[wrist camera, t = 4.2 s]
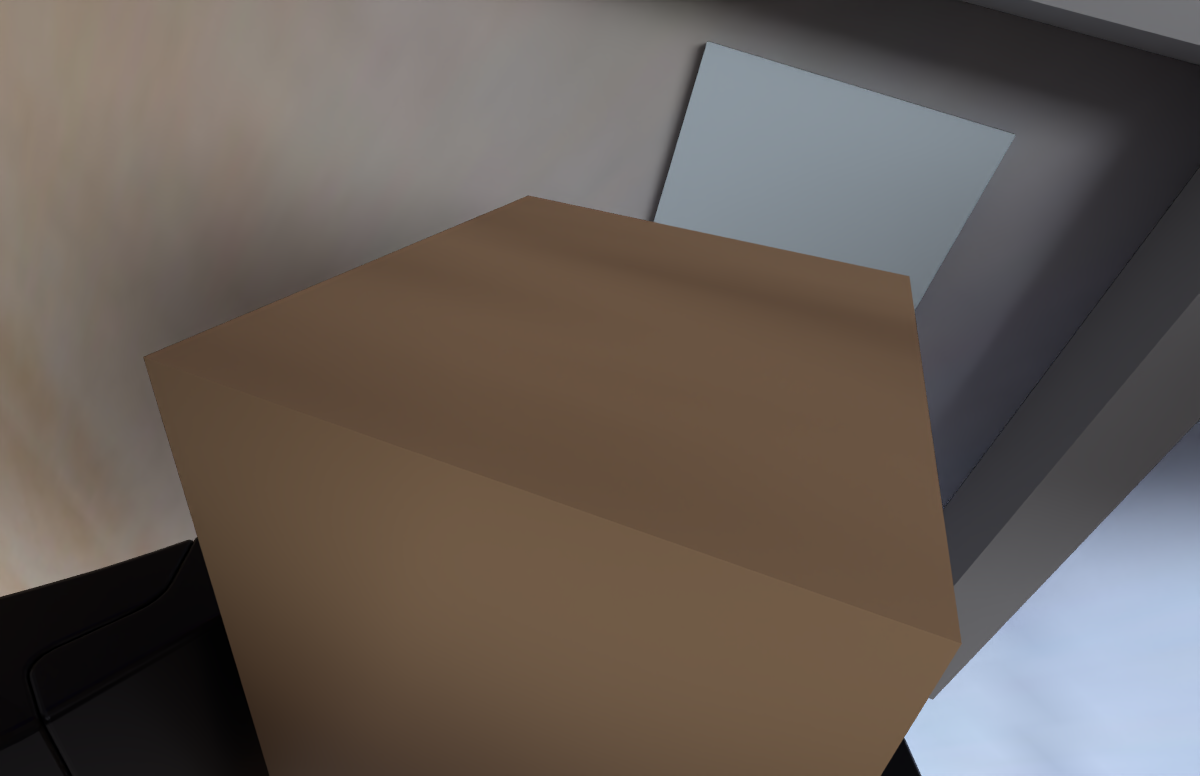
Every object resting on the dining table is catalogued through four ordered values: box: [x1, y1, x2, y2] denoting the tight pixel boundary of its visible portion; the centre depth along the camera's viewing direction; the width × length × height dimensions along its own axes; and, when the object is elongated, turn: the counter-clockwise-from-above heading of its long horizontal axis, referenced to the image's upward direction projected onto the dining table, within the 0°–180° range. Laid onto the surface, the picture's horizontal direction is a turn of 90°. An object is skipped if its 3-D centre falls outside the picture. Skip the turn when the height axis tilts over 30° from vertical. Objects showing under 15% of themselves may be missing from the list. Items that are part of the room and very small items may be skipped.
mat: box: [654, 41, 1016, 311], centre depth 17 cm, size 7×10×1 cm
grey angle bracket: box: [929, 0, 1200, 700], centre depth 16 cm, size 19×17×3 cm
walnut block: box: [143, 196, 962, 776], centre depth 7 cm, size 8×4×5 cm, turn 173°
